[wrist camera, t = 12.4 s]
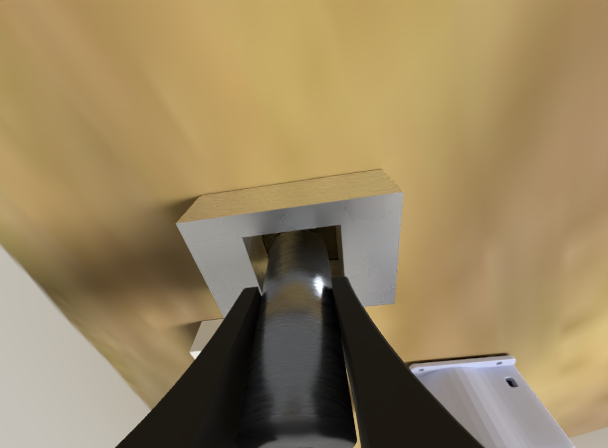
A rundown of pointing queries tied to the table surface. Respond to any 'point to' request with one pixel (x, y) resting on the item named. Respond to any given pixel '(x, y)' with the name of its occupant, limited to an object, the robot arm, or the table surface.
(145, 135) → the table surface
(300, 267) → the grey rounded rod
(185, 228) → the frame
